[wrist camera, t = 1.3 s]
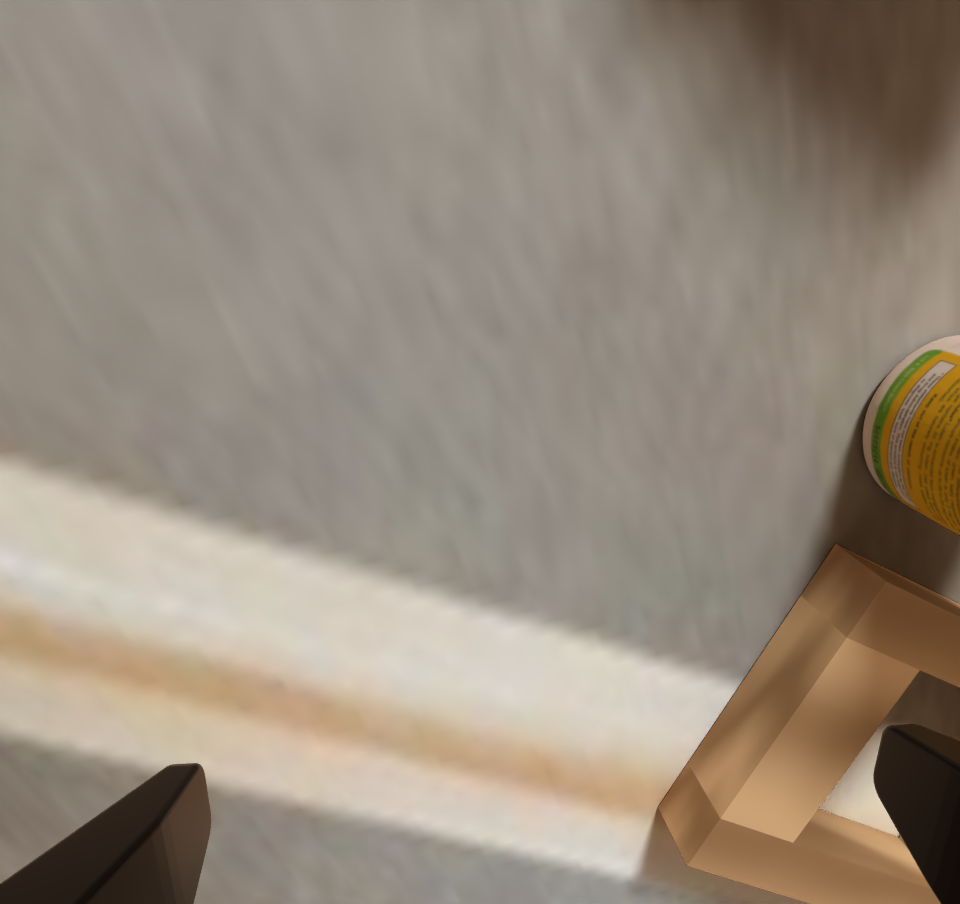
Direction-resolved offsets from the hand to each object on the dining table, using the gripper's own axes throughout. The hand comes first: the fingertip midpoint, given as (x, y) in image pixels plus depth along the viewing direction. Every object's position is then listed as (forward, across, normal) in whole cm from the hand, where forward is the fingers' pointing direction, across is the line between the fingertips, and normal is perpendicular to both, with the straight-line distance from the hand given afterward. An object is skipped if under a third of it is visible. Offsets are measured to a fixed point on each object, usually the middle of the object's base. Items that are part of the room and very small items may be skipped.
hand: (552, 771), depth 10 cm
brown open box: (+13, +14, -12) cm, 23 cm away
